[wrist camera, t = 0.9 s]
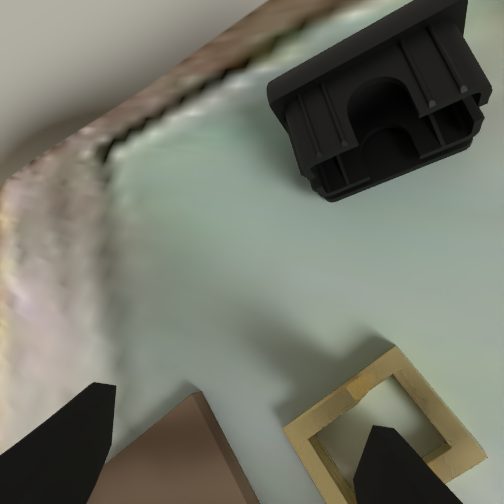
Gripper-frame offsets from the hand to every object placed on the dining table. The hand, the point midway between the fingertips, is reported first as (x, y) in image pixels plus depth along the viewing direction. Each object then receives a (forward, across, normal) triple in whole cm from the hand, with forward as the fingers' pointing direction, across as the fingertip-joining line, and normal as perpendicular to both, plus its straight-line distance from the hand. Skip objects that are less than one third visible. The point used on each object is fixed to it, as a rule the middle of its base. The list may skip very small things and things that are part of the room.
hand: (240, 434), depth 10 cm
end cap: (+17, -7, -10) cm, 21 cm away
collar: (+8, -8, +6) cm, 13 cm away
